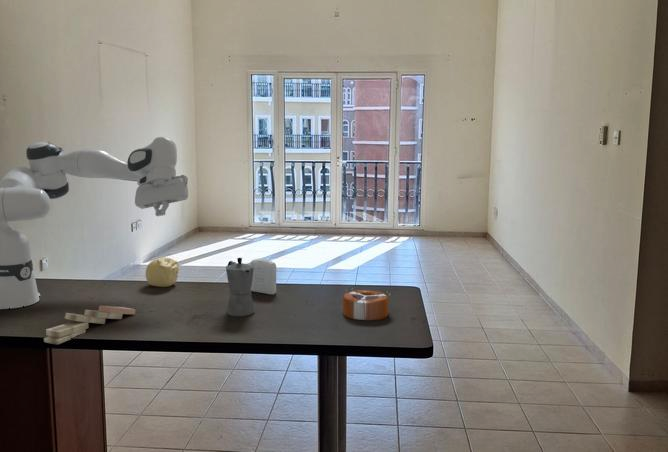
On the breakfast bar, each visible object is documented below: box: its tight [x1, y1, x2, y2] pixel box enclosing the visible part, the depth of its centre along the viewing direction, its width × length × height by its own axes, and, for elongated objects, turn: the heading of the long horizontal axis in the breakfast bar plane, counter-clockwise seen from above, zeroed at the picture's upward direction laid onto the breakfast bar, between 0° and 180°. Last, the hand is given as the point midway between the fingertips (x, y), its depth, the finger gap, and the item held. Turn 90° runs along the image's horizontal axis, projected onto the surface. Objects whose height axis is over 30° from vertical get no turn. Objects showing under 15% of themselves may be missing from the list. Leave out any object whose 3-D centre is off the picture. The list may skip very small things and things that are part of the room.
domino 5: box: [97, 305, 136, 315], centre depth 180 cm, size 5×2×10 cm
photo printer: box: [249, 258, 277, 295], centre depth 209 cm, size 10×4×12 cm, turn 60°
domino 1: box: [45, 320, 90, 338], centre depth 164 cm, size 5×2×10 cm
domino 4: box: [83, 309, 124, 320], centre depth 176 cm, size 5×2×10 cm
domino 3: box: [64, 312, 107, 325], centre depth 171 cm, size 5×2×10 cm
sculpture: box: [145, 256, 180, 288], centre depth 217 cm, size 12×12×11 cm
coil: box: [342, 287, 391, 322], centre depth 185 cm, size 7×15×15 cm
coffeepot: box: [225, 257, 255, 317], centre depth 186 cm, size 15×9×18 cm, turn 33°
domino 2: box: [43, 329, 87, 346], centre depth 163 cm, size 5×2×10 cm
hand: (160, 215), depth 201 cm, fingers closed
